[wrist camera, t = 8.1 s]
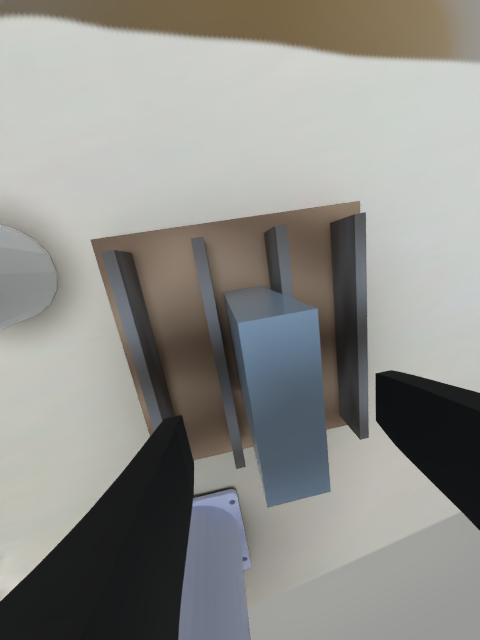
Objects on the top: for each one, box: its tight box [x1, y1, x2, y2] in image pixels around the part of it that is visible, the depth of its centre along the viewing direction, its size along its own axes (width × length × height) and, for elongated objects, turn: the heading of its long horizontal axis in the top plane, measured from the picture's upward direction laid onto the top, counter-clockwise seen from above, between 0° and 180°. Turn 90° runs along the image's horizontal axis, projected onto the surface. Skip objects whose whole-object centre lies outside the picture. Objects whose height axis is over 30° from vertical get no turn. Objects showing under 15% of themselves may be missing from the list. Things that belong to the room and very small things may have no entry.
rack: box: [91, 201, 369, 469], centre depth 15 cm, size 16×16×4 cm
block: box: [223, 286, 330, 507], centre depth 11 cm, size 7×2×8 cm, turn 9°
